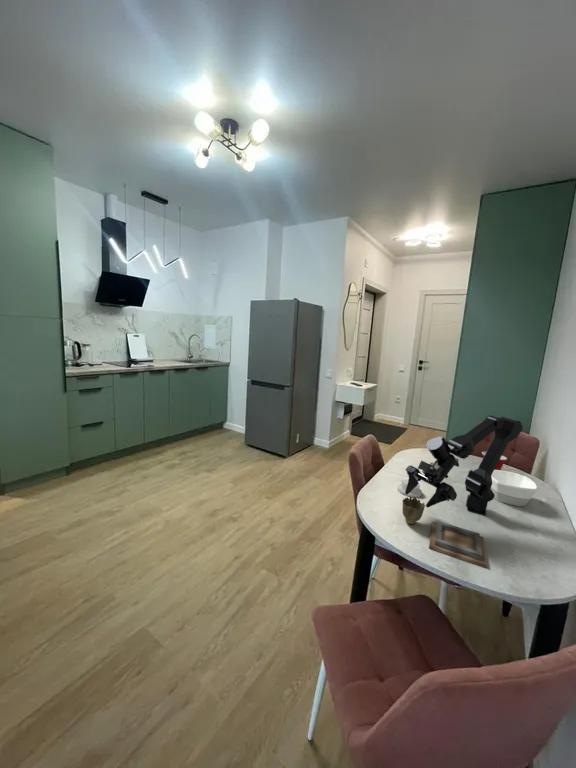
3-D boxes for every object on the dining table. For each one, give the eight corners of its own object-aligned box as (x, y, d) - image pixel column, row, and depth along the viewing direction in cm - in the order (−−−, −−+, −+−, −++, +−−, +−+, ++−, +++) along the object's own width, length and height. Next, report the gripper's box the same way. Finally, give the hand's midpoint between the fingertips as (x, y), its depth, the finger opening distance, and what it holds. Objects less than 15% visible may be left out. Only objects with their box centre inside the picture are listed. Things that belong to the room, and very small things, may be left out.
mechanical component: (393, 491, 143) (417, 500, 137) (395, 482, 142) (419, 490, 136) (401, 484, 151) (424, 492, 145) (402, 475, 150) (425, 482, 144)
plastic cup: (504, 478, 168) (509, 455, 166) (500, 484, 160) (505, 460, 158) (480, 470, 175) (484, 448, 173) (475, 476, 167) (479, 453, 165)
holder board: (482, 539, 113) (484, 532, 113) (486, 568, 99) (488, 560, 99) (432, 523, 120) (433, 517, 120) (428, 548, 106) (430, 541, 106)
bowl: (539, 514, 135) (544, 492, 133) (489, 503, 140) (493, 482, 138) (524, 494, 151) (528, 475, 150) (480, 485, 157) (484, 466, 155)
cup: (395, 518, 122) (398, 497, 120) (411, 515, 124) (414, 495, 123) (409, 530, 115) (412, 508, 114) (426, 527, 118) (429, 506, 116)
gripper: (412, 444, 127) (387, 475, 123) (457, 464, 111) (429, 500, 107) (423, 462, 132) (399, 492, 128) (468, 483, 116) (441, 518, 112)
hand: (415, 500), depth 119 cm, fingers open, 9 cm apart
